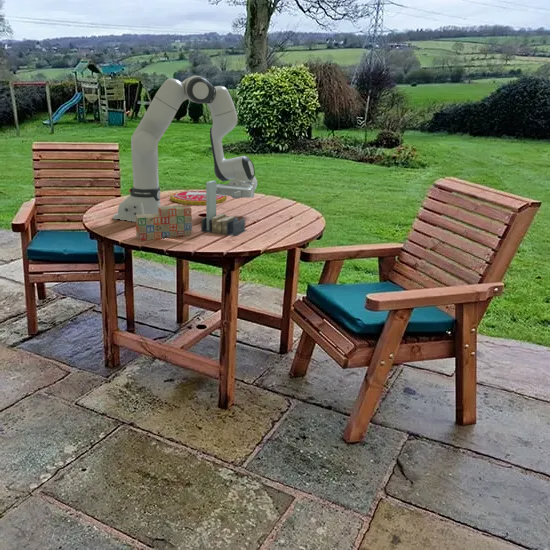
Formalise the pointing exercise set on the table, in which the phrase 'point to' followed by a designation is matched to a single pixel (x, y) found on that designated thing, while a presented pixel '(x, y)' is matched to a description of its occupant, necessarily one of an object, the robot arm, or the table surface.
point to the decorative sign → (194, 197)
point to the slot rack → (232, 226)
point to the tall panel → (210, 201)
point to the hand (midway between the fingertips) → (223, 193)
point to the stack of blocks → (164, 223)
